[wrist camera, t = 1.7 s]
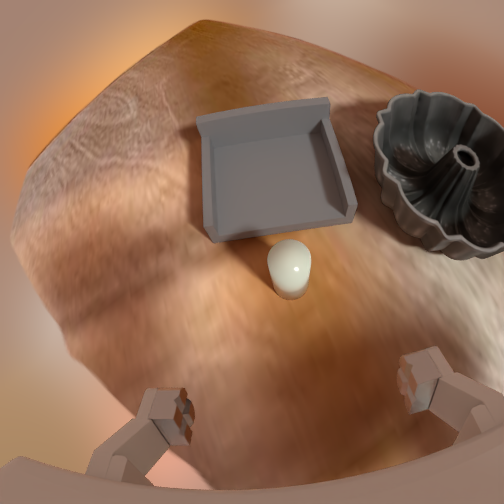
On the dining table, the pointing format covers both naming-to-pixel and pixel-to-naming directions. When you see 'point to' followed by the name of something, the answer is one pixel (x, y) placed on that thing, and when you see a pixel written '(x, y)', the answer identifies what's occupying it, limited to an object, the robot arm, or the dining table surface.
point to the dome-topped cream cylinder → (289, 268)
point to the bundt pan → (442, 173)
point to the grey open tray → (273, 170)
